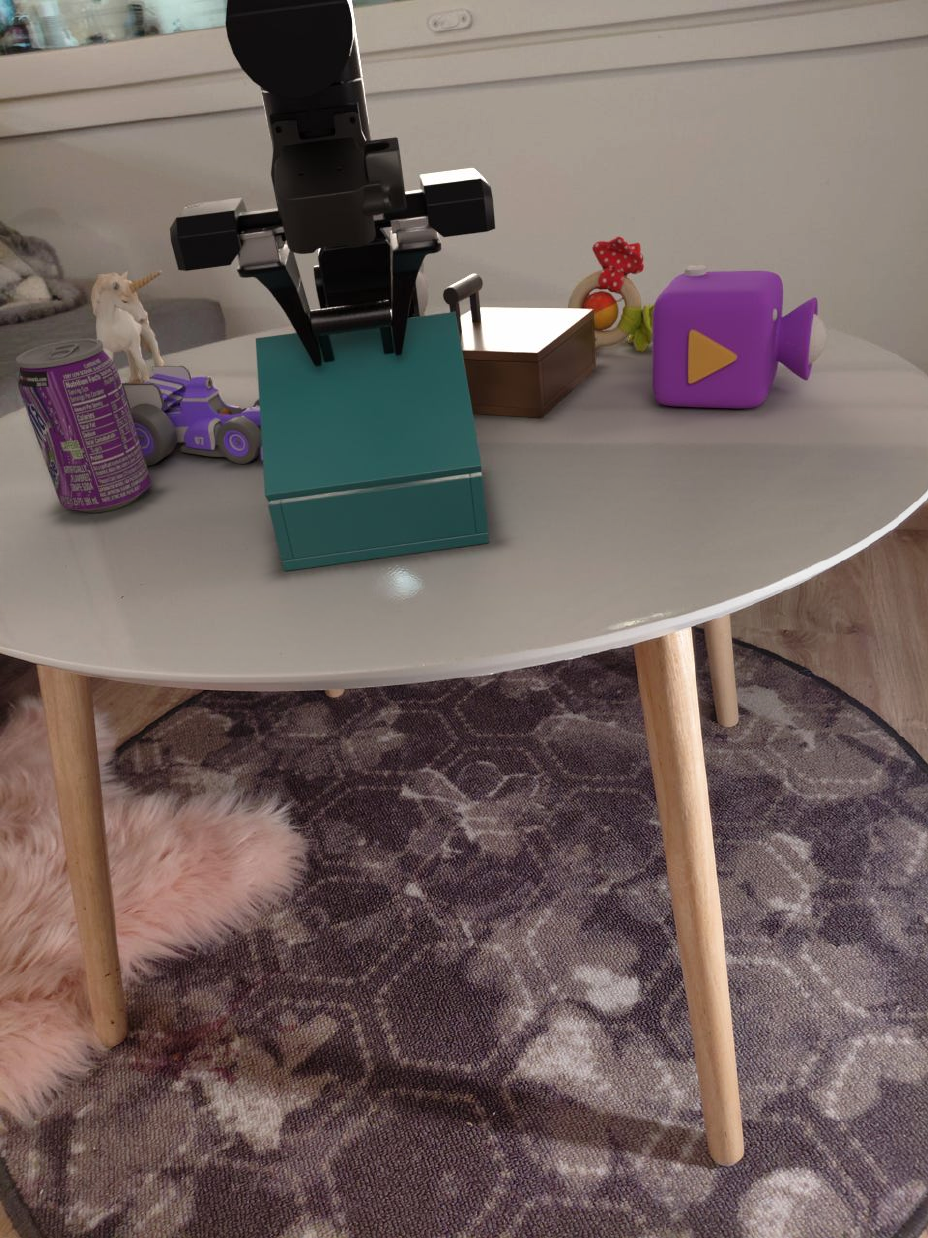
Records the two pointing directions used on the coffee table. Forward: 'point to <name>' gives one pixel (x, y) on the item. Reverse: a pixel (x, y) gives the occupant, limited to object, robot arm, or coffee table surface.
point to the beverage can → (83, 425)
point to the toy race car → (190, 418)
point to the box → (531, 378)
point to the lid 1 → (364, 404)
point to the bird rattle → (616, 266)
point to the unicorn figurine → (124, 321)
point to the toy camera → (728, 338)
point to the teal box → (380, 521)
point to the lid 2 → (510, 326)
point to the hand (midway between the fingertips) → (358, 359)
